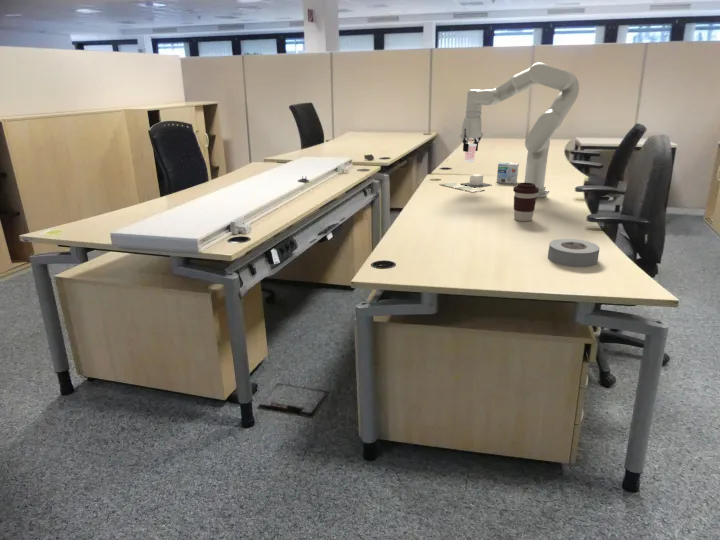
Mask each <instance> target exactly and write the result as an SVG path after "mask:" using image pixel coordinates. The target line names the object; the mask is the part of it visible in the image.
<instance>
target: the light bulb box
mask: <svg viewBox="0 0 720 540" xmlns="http://www.w3.org/2000/svg"><path fill="white" fill-rule="evenodd" d="M519 165H520V164H519V162H509V161H508V162H507V161H506V162H505V161H503V162H502V161H500V162H498V164H497V175H496V183H497V182H498V183H497V184H499V183H500V184H511V183H513V184H514V185H515V184H517V183H518V176H519V175H518V174H519V173H518V172H519ZM513 184H512V185H513Z"/></svg>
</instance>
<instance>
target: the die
mask: <svg viewBox="0 0 720 540" xmlns="http://www.w3.org/2000/svg"><path fill="white" fill-rule="evenodd" d="M469 182H470V184H472V185H482V184H483V183H484V174H479V173H478V174H477V173H474V174H470V176H469Z"/></svg>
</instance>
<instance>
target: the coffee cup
mask: <svg viewBox="0 0 720 540" xmlns="http://www.w3.org/2000/svg"><path fill="white" fill-rule="evenodd" d="M512 189H513V190H512V191H513V193H514V195H513V219H514V220H515V221H518V222H531V221H532V220H533V216H534V211H535V208H536V202H537V197H536V194H537V193H538V191H539V188H537V187H536V186H535V184H533V183H524V182H519V183H518V182H517V184H516V185H515V186H513V188H512Z"/></svg>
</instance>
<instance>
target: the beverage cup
mask: <svg viewBox="0 0 720 540" xmlns="http://www.w3.org/2000/svg"><path fill="white" fill-rule="evenodd" d="M472 139H473V138H470V142H468V144H469V147H468V152H465V151H464V162H465V163H474V162H475V157H476V151H475V150H476V146H477V144H473V143H472Z"/></svg>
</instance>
